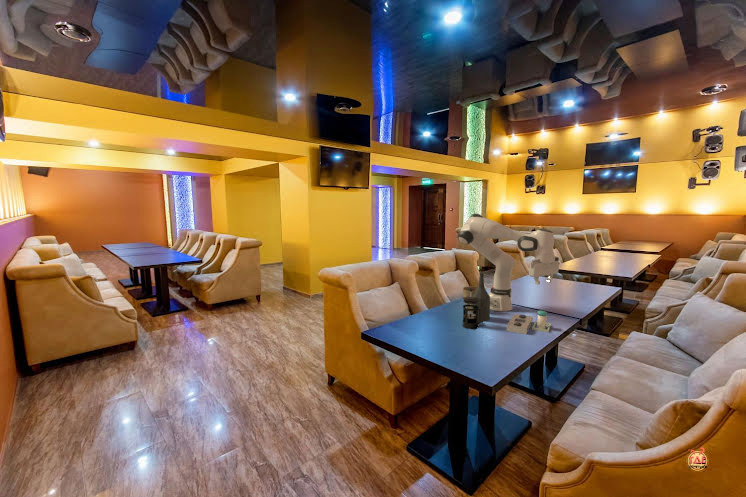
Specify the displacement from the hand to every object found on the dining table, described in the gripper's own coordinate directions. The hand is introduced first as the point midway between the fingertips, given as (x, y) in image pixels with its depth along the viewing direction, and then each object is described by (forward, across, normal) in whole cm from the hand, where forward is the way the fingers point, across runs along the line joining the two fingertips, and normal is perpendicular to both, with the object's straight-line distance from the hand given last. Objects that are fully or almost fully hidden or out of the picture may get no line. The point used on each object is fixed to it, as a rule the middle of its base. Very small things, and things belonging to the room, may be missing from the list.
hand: (543, 283), depth 179 cm
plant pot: (+27, -9, +44) cm, 52 cm away
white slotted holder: (+27, -9, +7) cm, 29 cm away
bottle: (+27, -18, +29) cm, 43 cm away
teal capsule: (+26, 0, 0) cm, 27 cm away
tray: (+27, 0, 0) cm, 27 cm away
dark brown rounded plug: (+25, -15, +3) cm, 29 cm away
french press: (+27, -30, +24) cm, 47 cm away
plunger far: (+25, -2, +11) cm, 27 cm away
